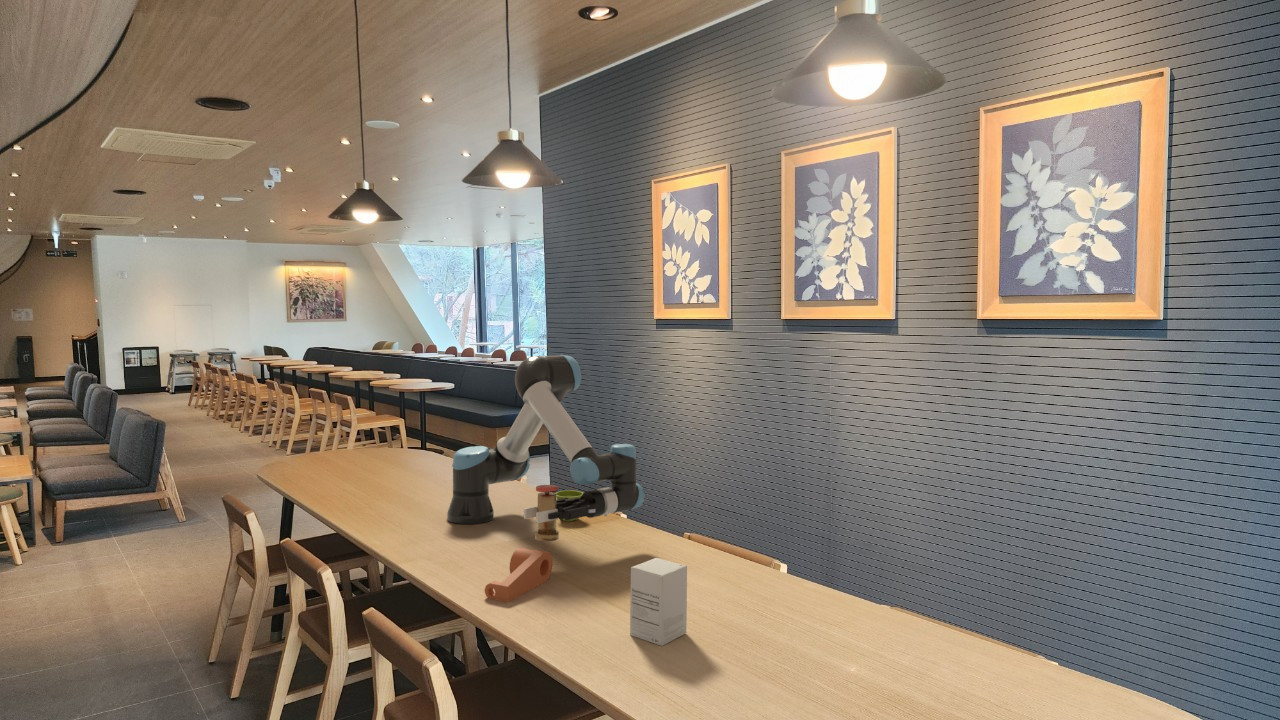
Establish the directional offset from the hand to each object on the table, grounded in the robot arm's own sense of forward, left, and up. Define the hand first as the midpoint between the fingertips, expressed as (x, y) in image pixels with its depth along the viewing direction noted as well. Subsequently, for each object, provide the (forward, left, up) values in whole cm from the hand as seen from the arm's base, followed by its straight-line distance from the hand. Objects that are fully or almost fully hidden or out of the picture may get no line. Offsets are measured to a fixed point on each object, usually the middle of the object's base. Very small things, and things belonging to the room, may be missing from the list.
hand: (530, 515), depth 207 cm
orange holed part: (+9, -10, -15) cm, 20 cm away
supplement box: (+53, -4, -15) cm, 55 cm away
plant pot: (-35, +40, -15) cm, 56 cm away
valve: (0, +5, -7) cm, 9 cm away
